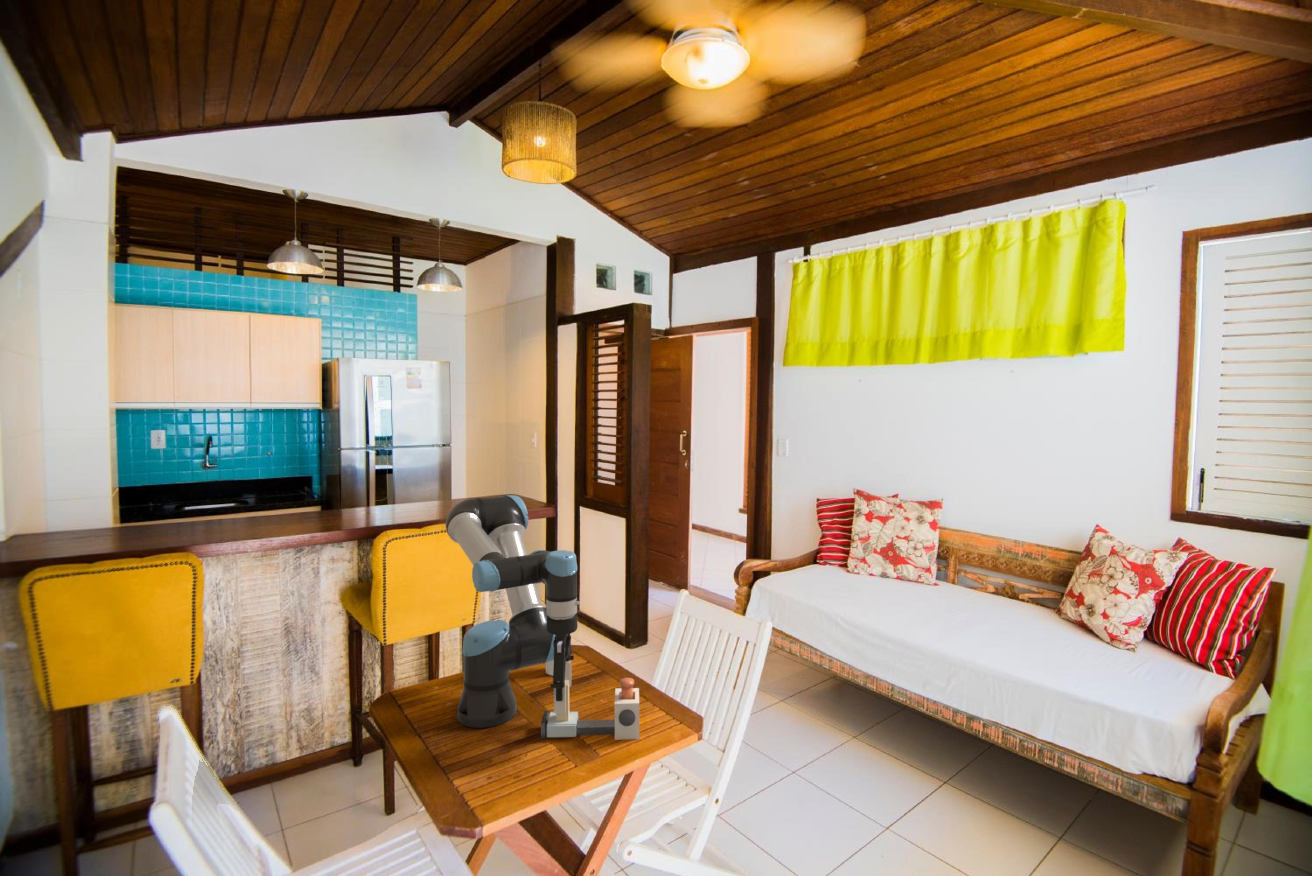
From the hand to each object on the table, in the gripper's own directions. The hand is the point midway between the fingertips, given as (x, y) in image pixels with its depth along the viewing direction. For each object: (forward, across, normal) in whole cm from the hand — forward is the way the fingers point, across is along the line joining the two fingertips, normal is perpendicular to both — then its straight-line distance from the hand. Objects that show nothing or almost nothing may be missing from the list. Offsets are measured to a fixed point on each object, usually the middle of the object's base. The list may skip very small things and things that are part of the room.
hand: (563, 699), depth 153 cm
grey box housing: (+9, 0, -16) cm, 18 cm away
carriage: (+9, 0, 0) cm, 9 cm away
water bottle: (+8, +34, +5) cm, 36 cm away
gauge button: (+2, 0, -16) cm, 16 cm away
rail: (+9, 0, -5) cm, 10 cm away
